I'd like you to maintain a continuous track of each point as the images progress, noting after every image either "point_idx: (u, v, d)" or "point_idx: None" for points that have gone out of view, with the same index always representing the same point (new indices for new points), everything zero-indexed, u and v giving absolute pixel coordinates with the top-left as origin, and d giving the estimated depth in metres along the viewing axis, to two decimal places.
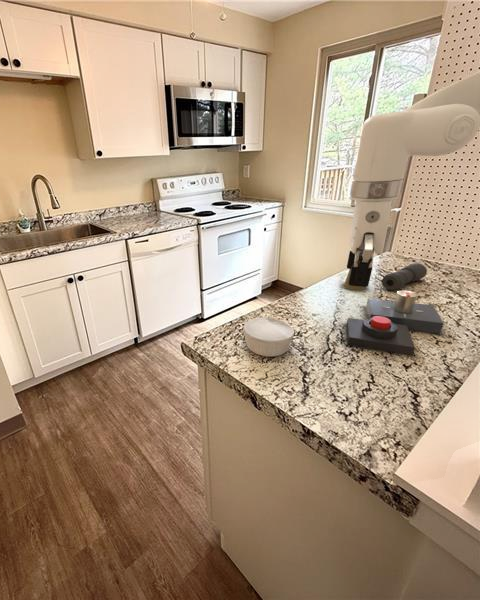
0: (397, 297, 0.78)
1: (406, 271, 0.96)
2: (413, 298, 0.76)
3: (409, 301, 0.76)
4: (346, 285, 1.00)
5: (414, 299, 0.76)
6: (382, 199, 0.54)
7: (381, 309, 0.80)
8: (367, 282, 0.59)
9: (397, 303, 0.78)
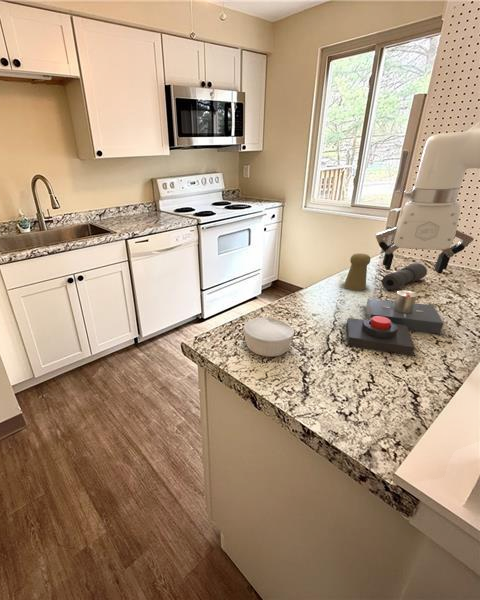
0: (397, 297, 0.78)
1: (406, 271, 0.96)
2: (413, 298, 0.76)
3: (409, 301, 0.76)
4: (346, 285, 1.00)
5: (414, 299, 0.76)
6: (412, 202, 0.69)
7: (381, 309, 0.80)
8: (387, 266, 0.76)
9: (397, 303, 0.78)
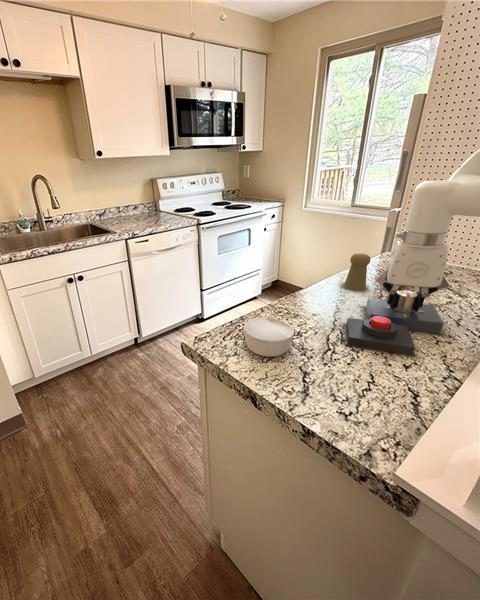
0: (397, 297, 0.78)
1: None
2: (413, 298, 0.76)
3: (409, 301, 0.76)
4: (346, 285, 1.00)
5: (414, 299, 0.76)
6: (403, 242, 0.73)
7: (381, 309, 0.80)
8: (391, 305, 0.79)
9: (397, 303, 0.78)
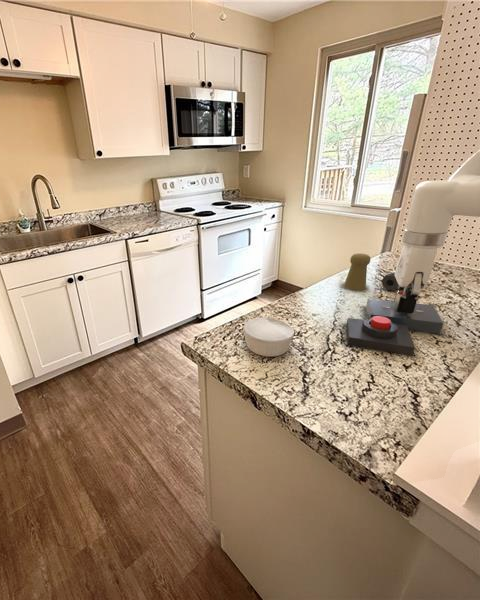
0: None
1: None
2: (398, 296, 0.78)
3: (396, 297, 0.79)
4: (346, 285, 1.00)
5: None
6: None
7: (381, 309, 0.80)
8: None
9: None
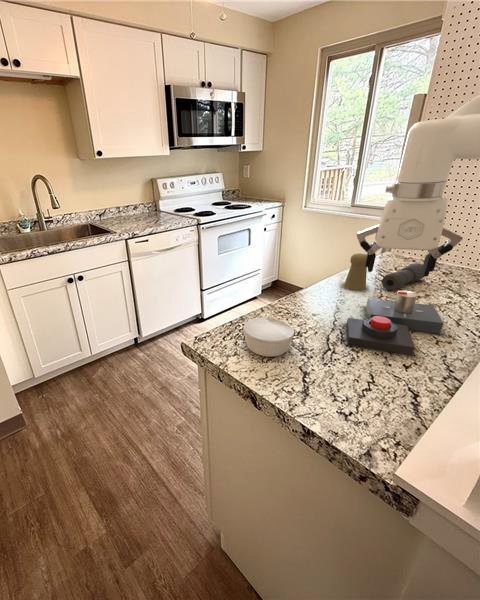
0: None
1: (406, 271, 0.96)
2: (398, 296, 0.78)
3: (396, 297, 0.79)
4: (346, 285, 1.00)
5: (400, 298, 0.77)
6: (394, 197, 0.62)
7: (381, 309, 0.80)
8: (369, 268, 0.69)
9: None
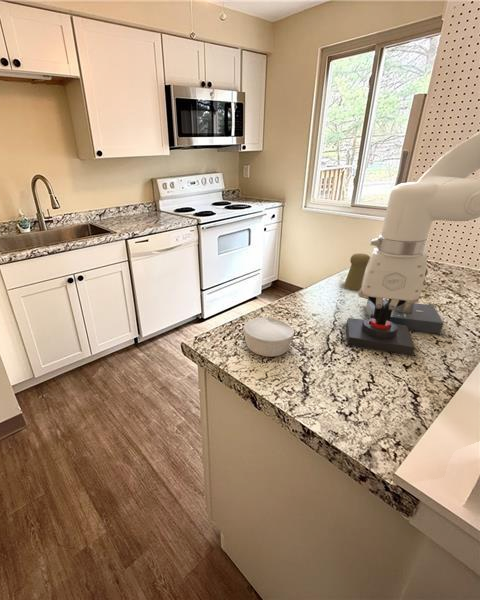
0: None
1: None
2: None
3: None
4: (346, 285, 1.00)
5: None
6: (378, 251, 0.66)
7: None
8: (377, 320, 0.71)
9: None
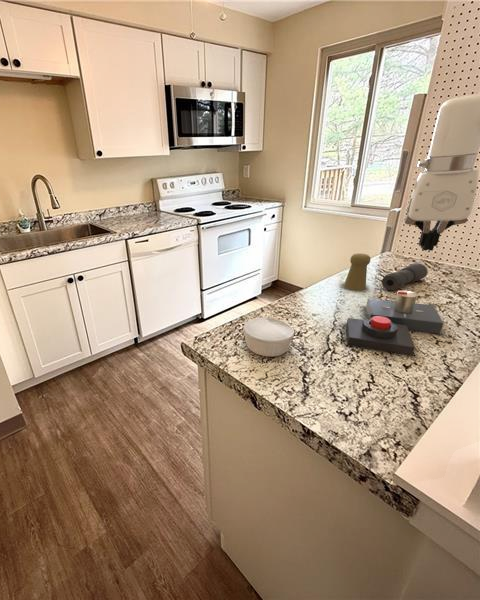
0: None
1: (406, 271, 0.96)
2: (398, 296, 0.78)
3: (396, 297, 0.79)
4: (346, 285, 1.00)
5: (400, 298, 0.77)
6: (427, 172, 0.66)
7: (381, 309, 0.80)
8: (424, 246, 0.71)
9: None
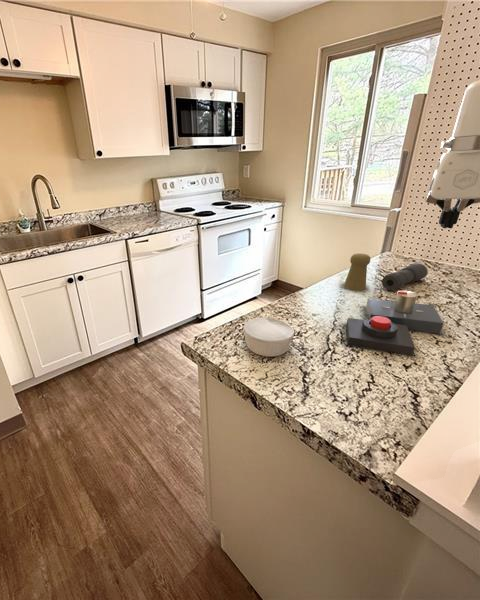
0: None
1: (406, 271, 0.96)
2: (398, 296, 0.78)
3: (396, 297, 0.79)
4: (346, 285, 1.00)
5: (400, 298, 0.77)
6: (450, 151, 0.70)
7: (381, 309, 0.80)
8: (444, 224, 0.75)
9: None
